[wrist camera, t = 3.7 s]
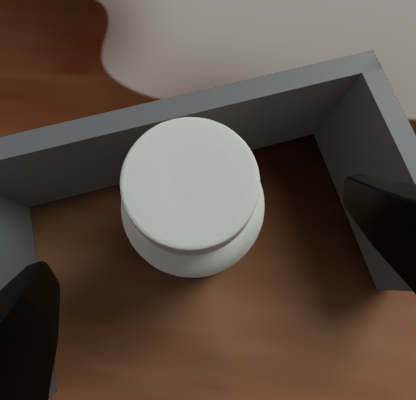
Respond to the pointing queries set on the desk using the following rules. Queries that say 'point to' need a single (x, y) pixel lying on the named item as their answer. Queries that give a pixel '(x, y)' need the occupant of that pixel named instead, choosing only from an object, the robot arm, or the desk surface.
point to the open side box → (232, 118)
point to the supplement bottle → (191, 197)
